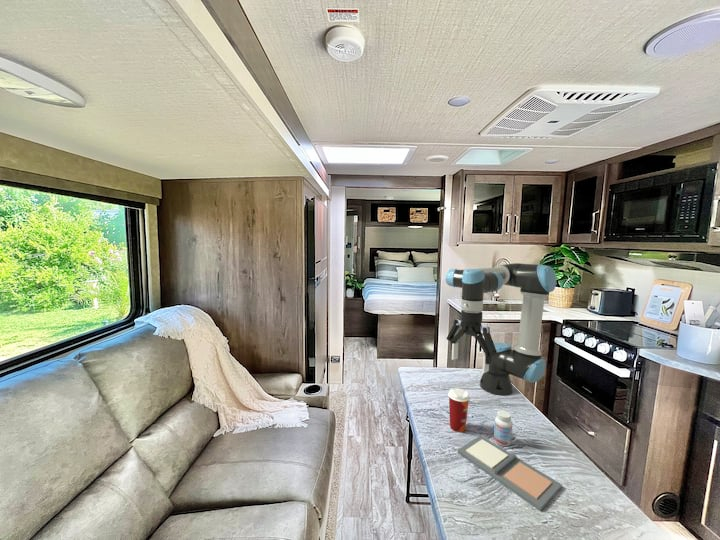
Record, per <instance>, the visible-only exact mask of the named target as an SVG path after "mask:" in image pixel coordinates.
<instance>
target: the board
mask: <svg viewBox="0 0 720 540" xmlns="http://www.w3.org/2000/svg"><path fill="white" fill-rule="evenodd" d="M457 453H458V455H460V456H462V457H463V458H465V460H467V461H469V462H470V463H471V464H473V465H474V466H476V467H477V468H479V469H480V470H481V471H483V472H484V473H485V474H487V475H489V476H490V477H491V478H493V479H494V480H496V481H497V482H499V484H501V485H503V486H504V487H506V488H507V489H509V490H510V491H511V492H513V493H514V494H516V495H517V496H518V497H520V498H521V499H522V500H523V501H526V502H527V503H528V504H530V505H531V506H532V507H534V509H536V510H537V511H539V512H541V511H542V510H543V509H544V508H545V507H546V505H548V504H549V502H550V501H551V500H552V499H553V498H554V497H555V496H556V494H557V493H559V491H560V490H561V489H562V488H563V484H562V483H561V482H558V481H557V480H556V479H554V478H552V477H550V476H549V475H548V474H546V473H543V472H542V471H540V470H539V469H537V468H535V467H533V466H532V465H530V464H529V463H527V462H526V461H524V460H522V459H521V458H519V457H518V456H517V455H516V454H512V453H511V452H509V451H507V450H506V449H505V448H503V447H500V446H499V445H498V444H497V443H496V444H495V443H494V442H492V441H491V440H489V439H487V438H486V437H484V436H482V435H478V436H477V437H475V438H474V439H472V440H471V441H469V442H467V443H466V444H464V445H463V446H461V447H460V448H458V449H457Z"/></svg>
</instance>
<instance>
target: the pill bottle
mask: <svg viewBox="0 0 720 540" xmlns="http://www.w3.org/2000/svg"><path fill="white" fill-rule="evenodd" d="M511 419H512V414H511V412H508V411H507V410H502V409H501V410H500V409H499V410H498V411H497V414H496V417H495V418H494V426H493V440H494V442H495V443H496V444H497V445H498V446H499V445H500V446H502V447H509V446H510V445H512V436H513V421H512V420H511Z"/></svg>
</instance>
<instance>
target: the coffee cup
mask: <svg viewBox="0 0 720 540" xmlns="http://www.w3.org/2000/svg"><path fill="white" fill-rule="evenodd" d="M447 395H448V397H449V399H448V401H449V403H448V404H449V405H448V408H449V427H450V429H451V430H452V431H454V432H457V433H463V432H465V430H466V426H467V420H468V419H467V417H468V410H469V401H470V397H471V396H470V395H469V392H468V391H467V390H465V389H462V388H457V387H456V388H450V390H449V392H448V394H447Z"/></svg>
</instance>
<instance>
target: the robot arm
mask: <svg viewBox="0 0 720 540" xmlns="http://www.w3.org/2000/svg"><path fill="white" fill-rule="evenodd" d="M445 283H446V284H447V285H448V286H449V287H453V288H459V289H460V288H461V307H460V308H461V312H460V318H458V319H457V318H456V319H454V320H453V325H452V326H451V328H450V331H449V333H448V335H447V337H446V341H448V342H450V351H451V360H452V361H454V360H457V359H458V358H459V357H458V355H459V342H458V341H459V340H460V338H461V337H463V336H464V335H468V336H470V337H474V339H476V340H477V343H478V344H479V346H480V348H481V349H482V351H483V353H484V354H483V356H482V371H481V372H482V375H481V378H480V380H479V387H480V388H481V389H482V390H484V391H486V392H487V393H488V394H489V393H490V394H492V395H497V396H507V395H511V393H512V392H513V384H512V380H511V377H510V375H511V376H514V377H516V378H519V379H522V380H524V381H526V382H529V383H530V382H531V383H537V382H538V381H540V380H541V378H542V377H543V375H544V373H545V371H546V366H547V363H546V360H545V359H543V358H542V352H541V351H540V350H539V347H540V337H541V330H542V320H543V314H544V313H543V312H544V306H545V299H546V298H547V297H549V295H550V293H552V292H553V291H555V288H556V285H557V275H556V272H555V270H554V268H552V267H551V266H549V265H543V264H532V263H518V262H517V263H505V264H497V265H495V266H494V267H486V268H485V267H484V268H465V269H457V268H451V269H448V270H447V272H446V273H445ZM503 286H510V287H515V288H520V293H521V294H522V296H523V297H522V304H521V314H520V319H519V320H520V322H519V329H518V330H519V331H518V338H517V345H515V346H514V347H513V349H512V345H511V344H509V343H505V342H494V340H493V338H492V335H491V329H490V327H489V326H483V325H482V322H483V314H484V313H483V312H482V311H483V310H484V294H487V293H494V292H496V291H499V290H500V289H502V287H503ZM460 326H461V329H460V330H459V328H460ZM458 330H459V331H458Z"/></svg>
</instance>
